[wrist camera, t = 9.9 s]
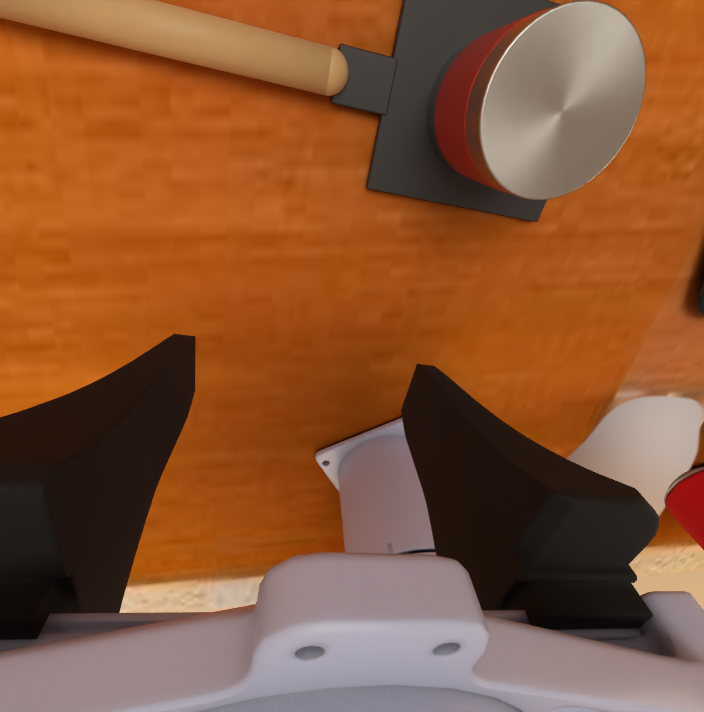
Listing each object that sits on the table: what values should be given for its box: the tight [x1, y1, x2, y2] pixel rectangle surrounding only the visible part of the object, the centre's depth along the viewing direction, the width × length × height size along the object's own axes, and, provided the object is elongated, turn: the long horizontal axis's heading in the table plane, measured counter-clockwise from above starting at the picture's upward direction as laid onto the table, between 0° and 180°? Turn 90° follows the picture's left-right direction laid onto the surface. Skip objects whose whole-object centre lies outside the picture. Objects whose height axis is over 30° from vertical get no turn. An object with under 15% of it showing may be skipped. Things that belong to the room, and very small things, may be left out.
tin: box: [428, 0, 646, 200], centre depth 15 cm, size 5×5×6 cm
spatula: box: [0, 0, 560, 222], centre depth 15 cm, size 24×8×2 cm, turn 79°
